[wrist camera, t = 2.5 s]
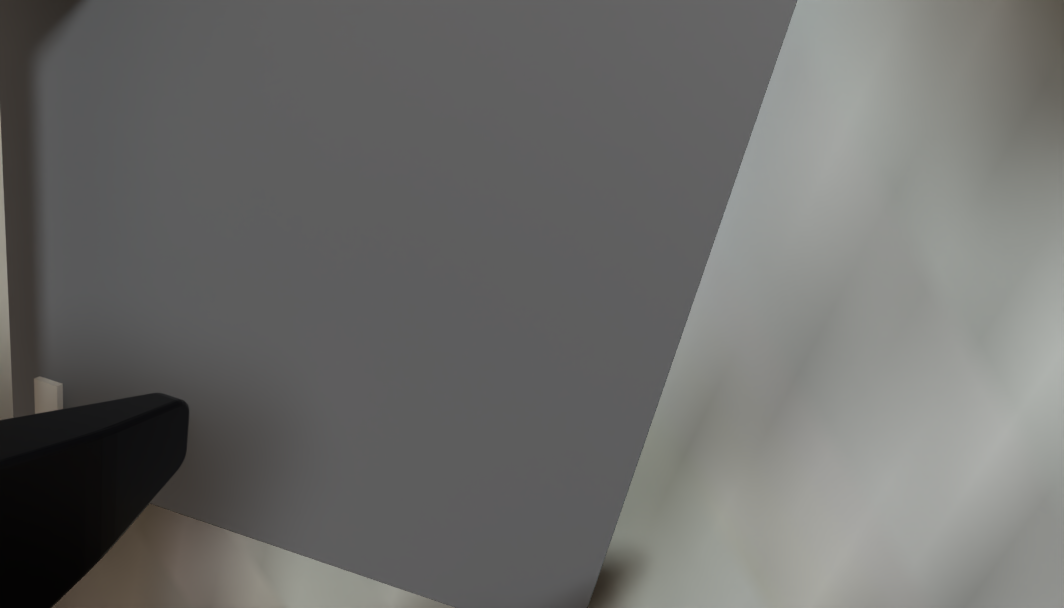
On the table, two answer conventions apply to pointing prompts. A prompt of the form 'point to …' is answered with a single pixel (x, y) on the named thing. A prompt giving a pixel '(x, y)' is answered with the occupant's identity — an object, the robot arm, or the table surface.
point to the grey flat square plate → (378, 256)
